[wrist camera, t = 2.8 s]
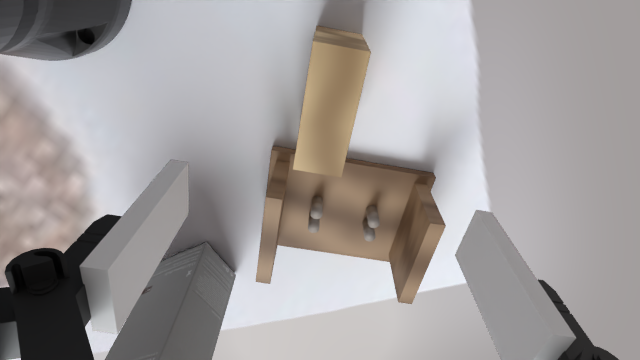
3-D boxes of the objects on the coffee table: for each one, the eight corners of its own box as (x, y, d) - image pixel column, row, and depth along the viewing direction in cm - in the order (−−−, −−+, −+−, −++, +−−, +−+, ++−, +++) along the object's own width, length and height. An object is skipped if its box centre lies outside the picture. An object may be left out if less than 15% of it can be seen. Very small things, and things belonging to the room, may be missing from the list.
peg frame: (272, 145, 37) (259, 186, 30) (433, 172, 38) (456, 217, 31) (261, 237, 43) (248, 288, 36) (401, 258, 44) (414, 311, 37)
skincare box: (207, 239, 44) (151, 362, 30) (241, 278, 47) (204, 406, 33) (153, 262, 46) (77, 388, 32) (188, 299, 49) (133, 427, 35)
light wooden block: (300, 131, 36) (292, 169, 30) (316, 25, 32) (313, 41, 25) (339, 138, 37) (341, 177, 30) (361, 34, 32) (370, 52, 25)
